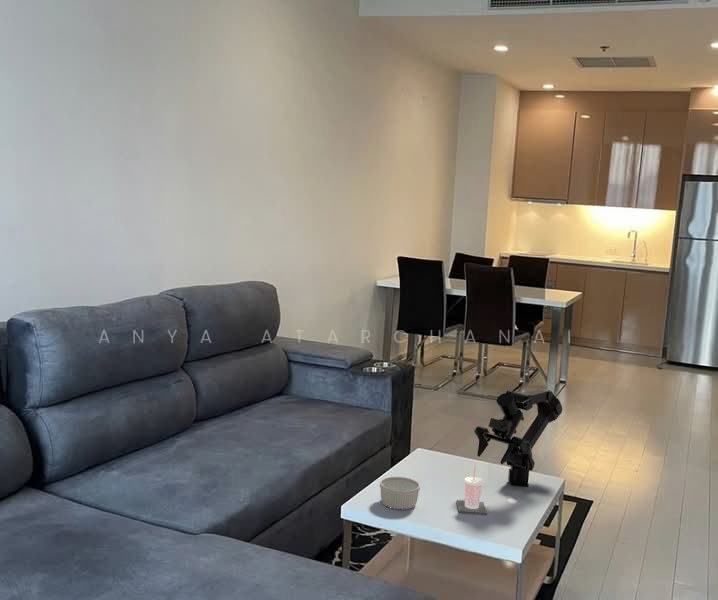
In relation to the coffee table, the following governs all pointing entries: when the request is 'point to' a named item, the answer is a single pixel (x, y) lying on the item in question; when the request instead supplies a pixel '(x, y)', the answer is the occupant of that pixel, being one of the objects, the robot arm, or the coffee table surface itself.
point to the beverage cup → (472, 491)
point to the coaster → (472, 511)
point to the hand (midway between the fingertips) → (489, 459)
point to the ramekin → (399, 492)
